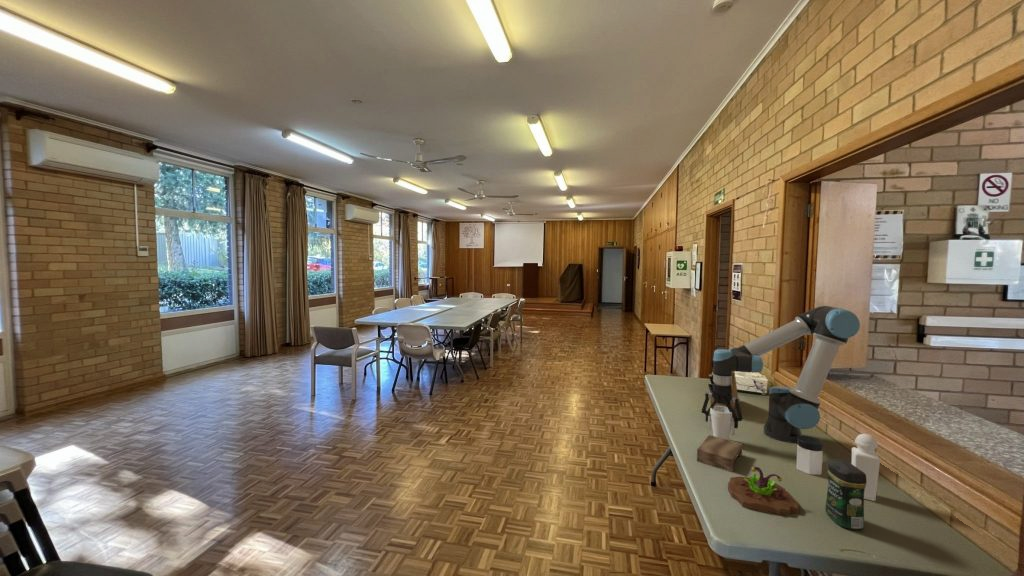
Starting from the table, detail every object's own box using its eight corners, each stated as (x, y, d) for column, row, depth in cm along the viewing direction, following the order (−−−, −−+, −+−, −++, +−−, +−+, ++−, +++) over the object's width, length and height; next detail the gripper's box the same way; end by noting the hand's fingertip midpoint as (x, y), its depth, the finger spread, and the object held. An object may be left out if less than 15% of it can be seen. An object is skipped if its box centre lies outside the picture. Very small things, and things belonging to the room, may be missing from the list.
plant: (719, 479, 149) (720, 451, 149) (776, 485, 146) (777, 455, 145) (740, 512, 130) (742, 479, 129) (807, 519, 126) (808, 485, 126)
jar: (827, 472, 154) (828, 442, 153) (815, 477, 151) (817, 446, 150) (802, 462, 162) (803, 433, 161) (790, 466, 159) (791, 437, 158)
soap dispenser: (877, 502, 135) (881, 440, 133) (852, 496, 138) (856, 435, 137) (873, 493, 140) (876, 433, 139) (849, 487, 144) (852, 428, 142)
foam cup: (735, 442, 176) (736, 413, 175) (713, 440, 178) (713, 412, 177) (728, 433, 185) (729, 406, 184) (707, 432, 187) (707, 405, 186)
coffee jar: (820, 510, 130) (823, 456, 129) (846, 512, 129) (849, 457, 128) (840, 530, 121) (844, 471, 119) (869, 532, 120) (873, 473, 119)
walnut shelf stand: (741, 455, 168) (742, 443, 168) (732, 472, 154) (732, 459, 154) (708, 446, 176) (709, 435, 176) (696, 461, 163) (697, 449, 162)
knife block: (705, 414, 214) (707, 358, 212) (717, 397, 242) (719, 347, 240) (729, 419, 207) (731, 361, 205) (738, 400, 235) (740, 349, 233)
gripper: (694, 381, 184) (693, 428, 185) (748, 390, 170) (747, 441, 171) (698, 377, 190) (698, 423, 191) (751, 386, 176) (750, 435, 177)
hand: (721, 431), depth 181 cm, fingers closed on foam cup, 9 cm apart
